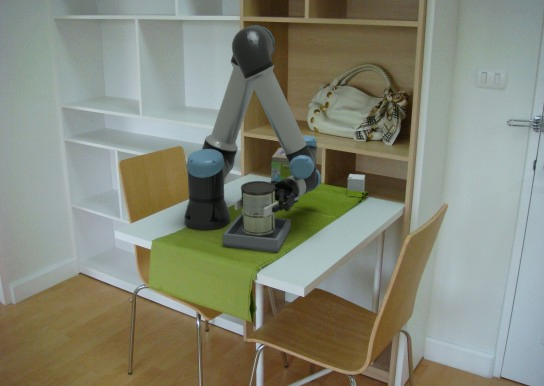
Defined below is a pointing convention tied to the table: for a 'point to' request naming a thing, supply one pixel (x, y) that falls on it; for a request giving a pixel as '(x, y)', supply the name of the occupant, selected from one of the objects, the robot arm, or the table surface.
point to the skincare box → (356, 182)
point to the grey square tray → (252, 242)
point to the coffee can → (257, 207)
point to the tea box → (279, 167)
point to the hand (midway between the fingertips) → (249, 209)
